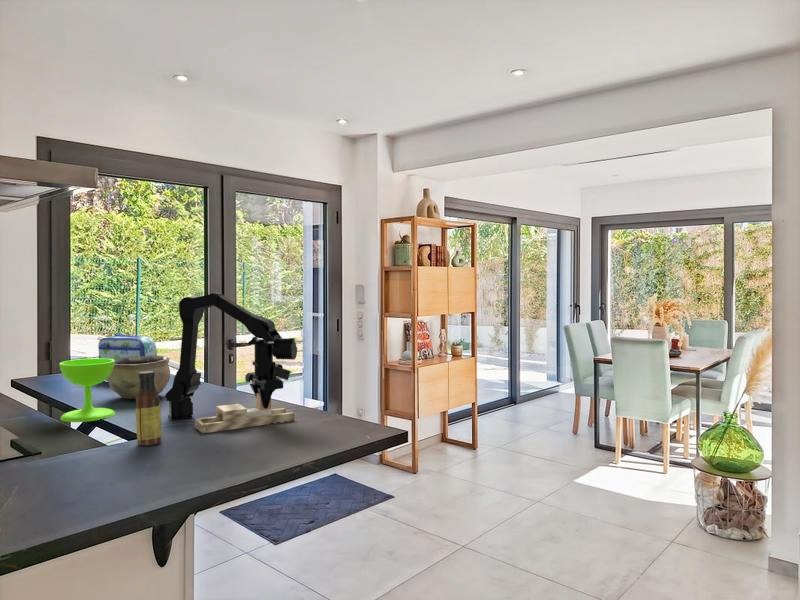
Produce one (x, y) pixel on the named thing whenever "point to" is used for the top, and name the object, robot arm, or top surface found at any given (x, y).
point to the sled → (258, 409)
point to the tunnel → (239, 418)
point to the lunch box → (126, 347)
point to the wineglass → (87, 386)
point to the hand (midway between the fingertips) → (263, 407)
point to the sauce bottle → (148, 411)
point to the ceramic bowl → (127, 374)
